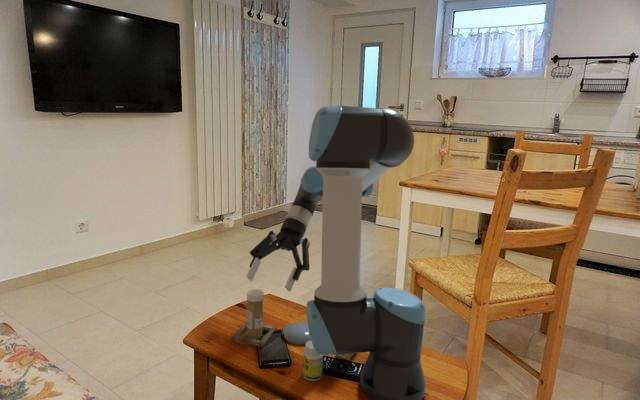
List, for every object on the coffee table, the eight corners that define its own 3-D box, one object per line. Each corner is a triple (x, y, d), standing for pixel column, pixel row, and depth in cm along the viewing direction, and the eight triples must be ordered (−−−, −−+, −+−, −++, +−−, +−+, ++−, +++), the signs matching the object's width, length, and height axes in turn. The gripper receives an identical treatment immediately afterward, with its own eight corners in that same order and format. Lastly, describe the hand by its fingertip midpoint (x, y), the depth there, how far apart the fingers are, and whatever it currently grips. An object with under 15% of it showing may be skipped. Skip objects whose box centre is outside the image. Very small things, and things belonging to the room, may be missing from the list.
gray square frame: (276, 331, 122) (276, 327, 121) (262, 348, 113) (262, 343, 112) (247, 325, 124) (247, 321, 124) (231, 341, 115) (231, 336, 115)
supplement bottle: (300, 371, 104) (301, 340, 102) (318, 368, 105) (320, 337, 103) (305, 382, 99) (307, 350, 97) (324, 380, 101) (326, 348, 99)
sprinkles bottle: (262, 340, 117) (263, 295, 114) (246, 341, 116) (246, 295, 113) (262, 332, 121) (263, 288, 118) (246, 332, 120) (247, 288, 118)
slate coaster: (325, 329, 124) (325, 326, 124) (313, 348, 114) (313, 344, 114) (291, 322, 127) (291, 319, 127) (276, 340, 117) (276, 336, 117)
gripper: (334, 236, 129) (309, 299, 119) (268, 223, 141) (239, 279, 131) (327, 223, 124) (300, 288, 114) (259, 210, 135) (228, 269, 125)
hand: (267, 284), depth 122 cm, fingers open, 13 cm apart
